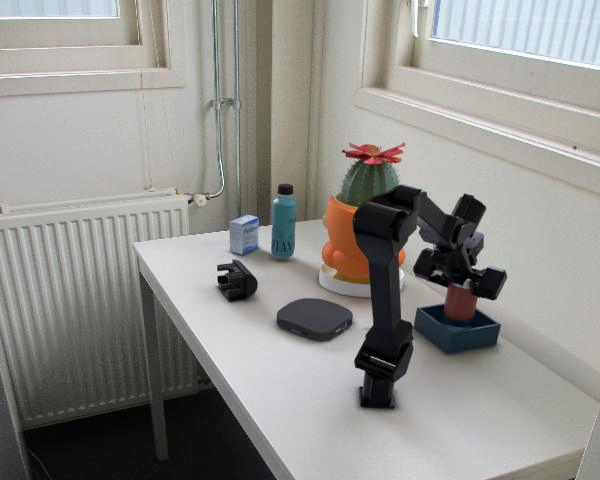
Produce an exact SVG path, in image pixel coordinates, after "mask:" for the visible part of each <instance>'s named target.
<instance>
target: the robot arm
mask: <svg viewBox="0 0 600 480" xmlns="http://www.w3.org/2000/svg"><path fill="white" fill-rule="evenodd" d="M486 211H487V206H486V205H485V204H484V203H483V202H482V201H480V200H479V199H477V198H475V195H474V194H469V193H466V192H465V193H463V195H462V196H460V197H459V198H458V200H457V202H456V204H455V205H454V208H453V210H452V211H451V213H450V214H449V213H446V212H445V211H444V210H443V209H441V208H440V206H438V204H436V203H435V201H433V199H431V198H430V197H429V196H428V193H427V191H425V190H424V189H423V188H420V187H416V186H413V185H408V184H403V183H400V185H396V186H395V187H394V188H392V189H391V190H390V191H388V192H385V193H382V194H379V195H376V196H373V197H371V198H369V199H368V200H367V201H366V202H365V203H364V204H362V205H361V206H360V207H359V208H358V209H357V210H356V212H355V214H354V216H353V221H352V225H353V231H354V236H355V240H356V244H357V246H358V247H359V249H360V250H361V251H362V253H363V254H364V255H365V257H366V258H367V259H368V268H369V279H370V291H371V297H370V301H371V313H372V326H371V327H370V328H369V329H368V331H367V332H366V333H365V338H364V340H363V342H362V344H361V346H360V348H359V349H358V352H357V354H356V356H355V358H354V360H353V363H354V368H355V369H359V370H361V371H364V375H363V383H362V386H359V387H358V395H359V405H360V407H362V408H374V409H375V408H376V409H395V408H396V401H395V394H394V389H395V384H396V382H398V381H399V380H401V379H402V378H403V377H405V375H406V374H407V372H408V369H409V366H410V362H411V360H412V357H413V353H414V345H413V343H414V342H413V341H414V338H415V337H414V334H413V333H414V332H413V331H414V324H413V323H412V322H411V321H408V320H406V319H403V318H402V306H401V305H402V303H401V290H400V278H399V269H400V268H399V252H400V251H401V249H402V248H403V249H404V247H405V246H406V244H407V242H408V241H409V238H410V237H411V235H413V234H414V233H415V232H416V231H417V229H418V228H419V230H418V235H419V236H420V238H421V239H422V241H423V242H425V243H428V244H432V248H433V249H432V248H429V247H425V248H423V249H422V250H421V251H420V253H419V255H418V257H417V259H416V261H415V263H414V265H413V267H412V271H413V274H414V276H415V277H416V278H419V279H422V280H424V281H426V282H429V283H432V284H435V285H437V286H441V287H443V288H446V289H448V283H449V282H451V283H455V284H458V285H461V286H463V284H464V283H465V281H467V280H468V279H469V280H472V281H475V282H476V287H475V289H474V291H473V293H472V295H473V296H476V297H478V299H486V300H490V301H493V302H494V301H496V300H497V299H498V298H499V296H500V293H501V292H502V290H503V288H504V286H505V283H506V282H507V279H508V278H509V277H508V274H507V271H506V270H505V269H503V268H499V267H495V266H492V265H488V266H487V267H486V268H482V269H477V268H473V267H476V265H477V263H478V258H477V257H478V256H479V254H480V253H481V252H482V250H484V247H485V234H484V233H483V232H480V231H477V229H478V227H479V225H480V224H481V221H482V220H483V217H484V215H485V213H486Z"/></svg>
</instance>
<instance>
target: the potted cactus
mask: <svg viewBox="0 0 600 480" xmlns="http://www.w3.org/2000/svg"><path fill="white" fill-rule="evenodd" d="M406 144H407V143H406V142H405V141H403V142H402V143H401V144H399V145H397V146H394V147H392V148H389V149H386V150H384V151H382V150H383V149H382V145H381V146H380V145H379V146H377V145H376V144H367V143H366V144H365V143H364V144H362V145H360V146H359V145H356V144H354V143H352V142H348V145H349V147H350V148H351V149H353V150H345V149H342V150H341V153H343V154H345V157H346V158H349V159H354V160H353V162H349V163H350V164H349V165H350V168H347V172H346V173H344V174H343V173H342V176H343V177H344V179H343V178H342V177H341V178H340V179H341V183H340V184H341V185H340V186H339V188H340V189H339V190H338V193H335V194H334V195H333V196H332V195H329V197H328V198H329V199H328V202H327V207H326V208H327V209H326V213H325V214H324V215H323V217H322V225H323V227H324V228H325V229H326V231H327V235H328V238H329V240H328V241H327V242H325V244H324V245H323V247H322V250H321V258H322V261H323V264H321V265H320V267H319V276H318V277H319V278H318V283H319V284H320V286H321V287H323V288H324V289H326V290H328V291H331V292H333V293H335V294H339V295H344V296H349V297H357V298H371V291H370V279H369V268H368V259H367V258H366V257H365V255H364V254H363V253H362V251H361V250H360V249H359V247H358V246H357V244H356V240H355V236H354V231H353V225H352V221H353V216H354V214H355V212H356V210H357V209H358V208H359V207H360V206H361V205H362V204H364V203H365V202H366V201H367V200H368V199H369V198H371V197H373V196H376V195H379V194H382V193H385V192H388V191H390V190H391V189H392V188H394V187H395V186H396V185H401V179H399V177H401V175H399V174H400V173H399V171H398V170H399V169H397V168H395V167H396V165H395V164H399V163H402V157H398V155H402V154H404V152H405V151H403V150H402V149H401V148H403V147H406ZM399 148H400V149H399ZM355 159H356V160H355ZM353 163H354V164H353ZM397 174H398V175H397ZM405 260H406V251H405V249H404V247H403V248H402V249H401V251H400V252H399V278H400V291H401V290H402V289H403V284H404V276H405V274H404V271H403V270H402V269H401V267H402V266H403V265H404V262H405Z"/></svg>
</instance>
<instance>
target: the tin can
mask: <svg viewBox="0 0 600 480" xmlns="http://www.w3.org/2000/svg"><path fill="white" fill-rule="evenodd" d="M475 287H476V282H475V281H472V280H469V279H468V280H467V281H465V283H464V284H463V286H461V285H458V284H455V283H451V282H449V283H448V288H446V294H445V298H444V299H445V300H444V303H445V304H444V310H443V316H442V320H443V321H444V322H445V323H446V324H448V325H451V326H454V327H468V326H470V325H471V324H472V321H473V317H474V313H475V309H476V308H477V304H478V299H479V298H478V297H476V296H473V295H472V293H473V291H474V289H475Z"/></svg>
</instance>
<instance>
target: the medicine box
mask: <svg viewBox="0 0 600 480" xmlns="http://www.w3.org/2000/svg"><path fill="white" fill-rule="evenodd" d="M259 219H260V218H259V217H257V216H254V215H249V214H245V215H243V216H240V217H237V218H235V219H233V220H231V221H229V223H228V224H229V225H228V226H229V229H228V230H229V252H231V253H235V254H237V255H242V256H244V255H246V254H248V253H249V252H251V251H253V250H255V249H257V248H259V230H260V229H259V226H260V225H259V224H260V223H259V222H260V220H259Z"/></svg>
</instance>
